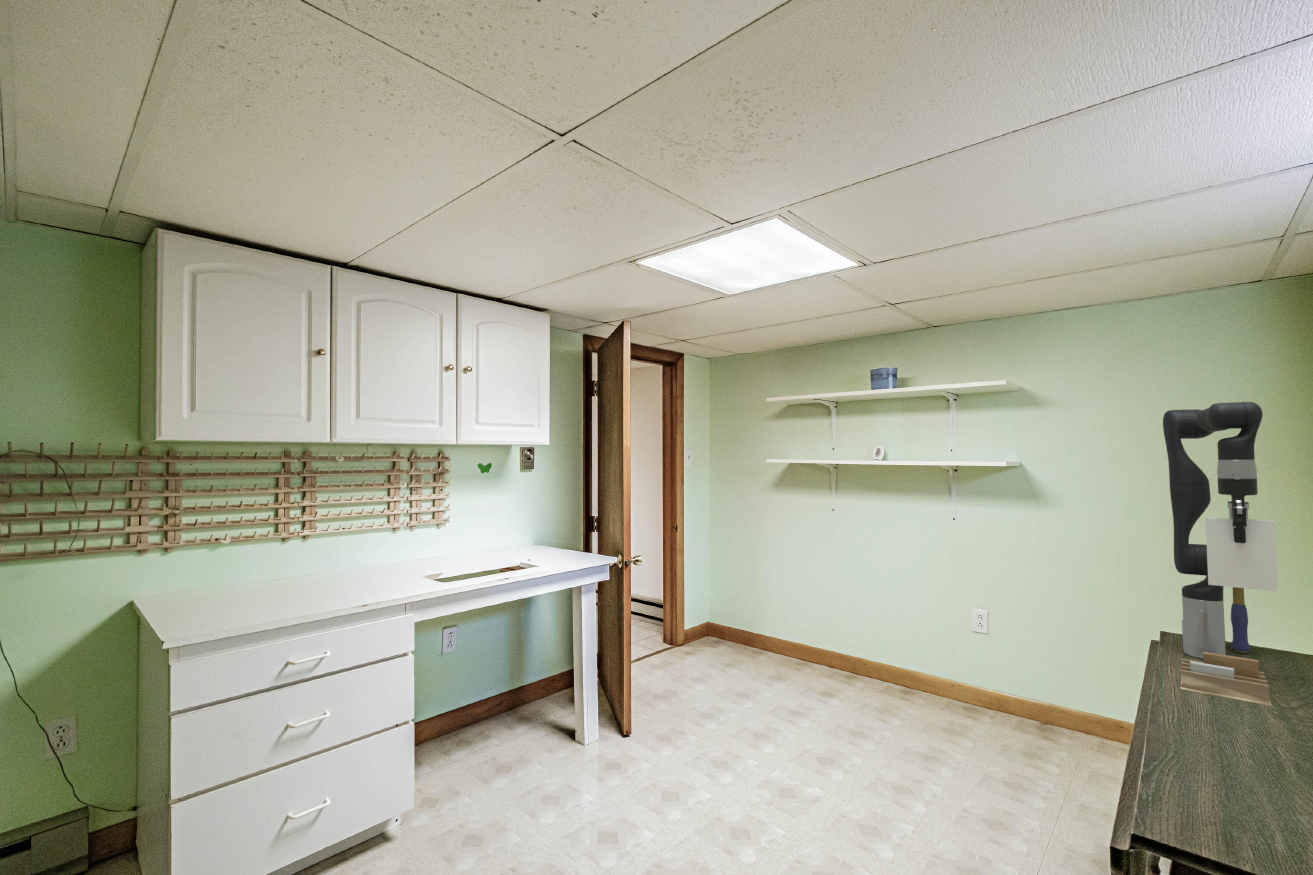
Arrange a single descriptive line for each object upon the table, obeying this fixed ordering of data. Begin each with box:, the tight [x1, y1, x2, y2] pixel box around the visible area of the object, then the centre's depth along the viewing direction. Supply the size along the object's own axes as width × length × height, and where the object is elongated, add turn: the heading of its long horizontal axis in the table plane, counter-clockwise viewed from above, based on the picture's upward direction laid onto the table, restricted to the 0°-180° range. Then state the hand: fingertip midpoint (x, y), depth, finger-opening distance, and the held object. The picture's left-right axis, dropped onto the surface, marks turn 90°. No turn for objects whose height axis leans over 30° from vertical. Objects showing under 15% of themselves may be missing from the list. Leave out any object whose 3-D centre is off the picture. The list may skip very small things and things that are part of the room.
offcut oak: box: [1202, 652, 1260, 679], centre depth 149 cm, size 2×10×8 cm, turn 48°
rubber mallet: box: [1230, 587, 1251, 654], centre depth 182 cm, size 12×8×30 cm, turn 40°
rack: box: [1180, 658, 1272, 707], centre depth 150 cm, size 16×16×5 cm
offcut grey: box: [1190, 660, 1235, 679], centre depth 148 cm, size 2×8×6 cm, turn 48°
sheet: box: [1204, 517, 1279, 592], centre depth 157 cm, size 2×13×18 cm, turn 48°
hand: (1239, 542), depth 157 cm, fingers closed on sheet, 2 cm apart
